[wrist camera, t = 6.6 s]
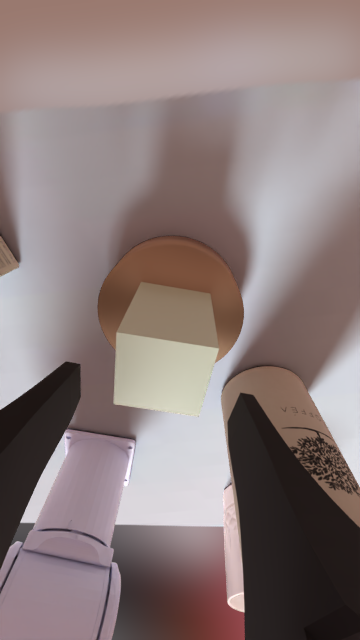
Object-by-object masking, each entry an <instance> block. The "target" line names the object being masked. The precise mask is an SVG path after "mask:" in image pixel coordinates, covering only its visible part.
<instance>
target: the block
mask: <svg viewBox="0 0 360 640" xmlns="http://www.w3.org/2000/svg"><path fill="white" fill-rule="evenodd" d="M218 350H219V345H218V339H217V332H216V326H215V320H214V313H213V307H212V301H211V294H210V293H204V292H198V291H192V290H187V289H181V288H175V287H169V286H163V285H157V284H151V283H145V282H141V283H140V285H139V287H138V289H137V291H136V294H135V296H134V298H133V300H132V302H131V304H130V306H129V308H128V310H127V312H126V314H125V316H124V318H123V320H122V322H121V324H120V326H119V328H118V330H117V332H116V355H115V378H114V401H113V404H115V405H122V406H129V407H136V408H142V409H149V410H156V411H163V412H170V413H176V414H183V415H190V416H197V417H199V414H200V411H201V407H202V404H203V401H204V397H205V394H206V390H207V387H208V384H209V380H210V377H211V374H212V370H213V367H214V364H215V360H216V357H217V354H218Z"/></svg>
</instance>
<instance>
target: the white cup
mask: <svg viewBox="0 0 360 640" xmlns="http://www.w3.org/2000/svg"><path fill="white" fill-rule="evenodd" d="M223 506H224V541H225V545H224V547H225V564H226V581H227V582H226V583H227V601H228V604H229V606H231V607H232V608H234V609H236V610H238V611H242V612H244V586H243V566H242V558H241V550H240V542H239V535H238V527H237V519H236V512H235V504H234V496H233V489H232V485H230V486H228V487H227V488H226V489H225V490H224V494H223Z"/></svg>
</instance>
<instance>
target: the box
mask: <svg viewBox="0 0 360 640" xmlns="http://www.w3.org/2000/svg"><path fill="white" fill-rule="evenodd" d="M18 267H19V264H18V262H17V261H16V259H15V258H14V256H13V255H12V253H11V251H10V250H9V248H8V247H7V245H6V244H5V242H4V241H3V239H2V238H1V236H0V277H1V276H3V275H4V274H6V273H8V272H10V271H12V270H14V269H17V268H18Z"/></svg>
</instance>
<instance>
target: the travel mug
mask: <svg viewBox="0 0 360 640" xmlns="http://www.w3.org/2000/svg"><path fill="white" fill-rule="evenodd" d="M240 392H241V393H246V394H252V395H254V396H255V398H256V399H257V401H258V403H259V404H260V406H261V407H262V409H263V410H264V412H265V413H266V415H267V416H268V418H269V419H270V421H271V422H272V424H273V425H274V427H275V428H276V430H277V431H278V433H279V434H280V435H281V437H282V438H283V440H284V441H285V443H286V444H287V445H288V447H289V448H290V449H291V451H292V452H293V453H294V455H295V456H296V457H297V458H298V460H299V461H300V462H301V464H302V465H303V466H304V467H305V469H306V470H307V471H308V472H309V474H310V475H311V476H312V477H313V478H314V479H315V480H316V482H317V483H318V484H319V485H320V486H321V487H322V489H323V490H324V491H325V492H326V493H327V494H328V495H329V496H330V497H331V499H332V500H333V501H334V502H335V503H336V504H337V505H338V506H339V507H340V508H341V509H342V510H343V511H344V512H345V513H346V514H347V515H348V516H349V517H350V518H351V519H352V520H353V521H354V522H355V523H356V524H357V525H358V526H359V527H360V487H359V485H358V483H357V481H356V480H355V478H354V476H353V474H352V472H351V470H350V468H349V467H348V465H347V463H346V461H345V459H344V457H343V456H342V454H341V452H340V450H339V448H338V446H337V444H336V443H335V441H334V439H333V437H332V435H331V433H330V432H329V430H328V428H327V426H326V424H325V422H324V420H323V419H322V417H321V415H320V413H319V411H318V409H317V408H316V406H315V404H314V402H313V400H312V398H311V396H310V395H309V393H308V391H307V389H306V387H305V385H304V384H303V382H302V380H301V379H300V378H299V377H298V376H297V375H296V374H294V373H293V372H291V371H289V370H287V369H284V368H280V367H273V366H263V367H256V368H252V369H249V370H246V371H244V372H241V373H240V374H238V375H236V376H235V377H233V378H232V379H231V380H230V381H229V382H228V383H227V384H226V386H225V387H224V389H223V392H222V395H221V404H222V412H223V419H224V427H225V435H226V442H227V450H228V458H229V466H230V473H231V481H232V489H233V496H234V504H235V512H236V519H237V527H238V535H239V542H240V550H241V558H242V548H241V533H240V520H239V509H238V501H237V495H236V489H235V483H234V477H233V471H232V465H231V459H230V452H229V446H228V427H227V422H228V419H229V417H230V415H231V412H232V410H233V408H234V406H235V403H236V401H237V399H238V397H239V394H240ZM242 566H243V564H242Z"/></svg>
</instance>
